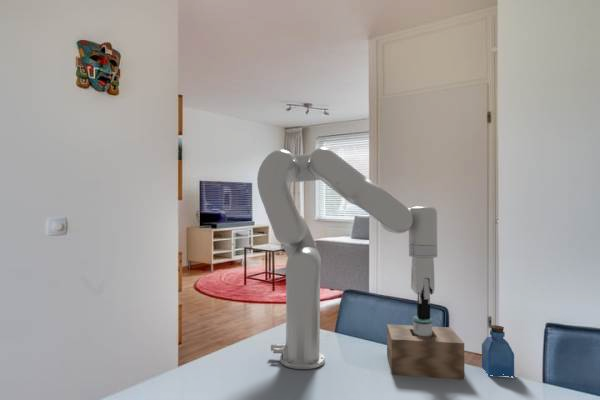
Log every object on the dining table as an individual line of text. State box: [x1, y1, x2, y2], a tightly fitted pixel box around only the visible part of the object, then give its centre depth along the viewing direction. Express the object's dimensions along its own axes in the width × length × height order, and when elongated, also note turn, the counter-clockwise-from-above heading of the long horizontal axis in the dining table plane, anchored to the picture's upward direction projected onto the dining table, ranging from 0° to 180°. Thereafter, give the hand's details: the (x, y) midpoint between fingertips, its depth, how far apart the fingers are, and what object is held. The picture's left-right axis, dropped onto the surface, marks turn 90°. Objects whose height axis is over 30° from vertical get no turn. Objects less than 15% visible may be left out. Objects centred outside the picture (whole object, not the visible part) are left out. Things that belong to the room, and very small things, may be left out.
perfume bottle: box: [481, 324, 515, 378], centre depth 102 cm, size 6×6×12 cm
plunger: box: [412, 315, 434, 337], centre depth 106 cm, size 5×5×9 cm
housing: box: [386, 323, 465, 380], centre depth 106 cm, size 18×14×9 cm
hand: (423, 317), depth 106 cm, fingers closed
